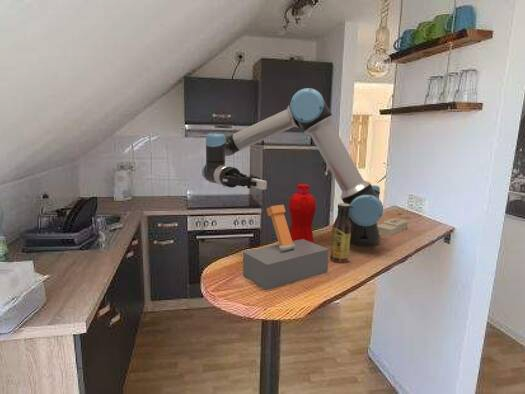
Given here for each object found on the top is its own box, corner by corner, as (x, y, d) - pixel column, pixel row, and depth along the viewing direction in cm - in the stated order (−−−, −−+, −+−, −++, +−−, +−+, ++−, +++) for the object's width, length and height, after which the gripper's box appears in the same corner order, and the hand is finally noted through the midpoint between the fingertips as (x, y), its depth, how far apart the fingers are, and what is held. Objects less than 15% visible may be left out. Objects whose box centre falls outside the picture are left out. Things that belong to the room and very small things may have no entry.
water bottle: (309, 246, 134) (312, 182, 129) (315, 256, 123) (318, 186, 119) (285, 246, 134) (288, 181, 129) (289, 256, 123) (291, 186, 118)
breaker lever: (291, 249, 109) (278, 207, 112) (296, 247, 107) (283, 204, 110) (279, 252, 106) (266, 208, 109) (283, 250, 104) (270, 206, 107)
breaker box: (301, 260, 120) (302, 239, 118) (327, 271, 110) (328, 249, 109) (242, 275, 106) (243, 251, 104) (266, 290, 96) (267, 264, 95)
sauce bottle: (326, 257, 122) (329, 202, 119) (341, 255, 125) (345, 201, 121) (336, 264, 116) (340, 206, 113) (352, 262, 119) (356, 205, 115)
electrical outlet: (375, 224, 155) (392, 217, 167) (374, 233, 155) (392, 225, 168) (391, 227, 150) (407, 220, 163) (390, 236, 151) (406, 229, 163)
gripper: (242, 185, 136) (280, 194, 118) (212, 187, 129) (247, 198, 110) (242, 165, 135) (280, 172, 116) (212, 167, 127) (247, 174, 108)
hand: (264, 185), depth 113 cm, fingers closed
